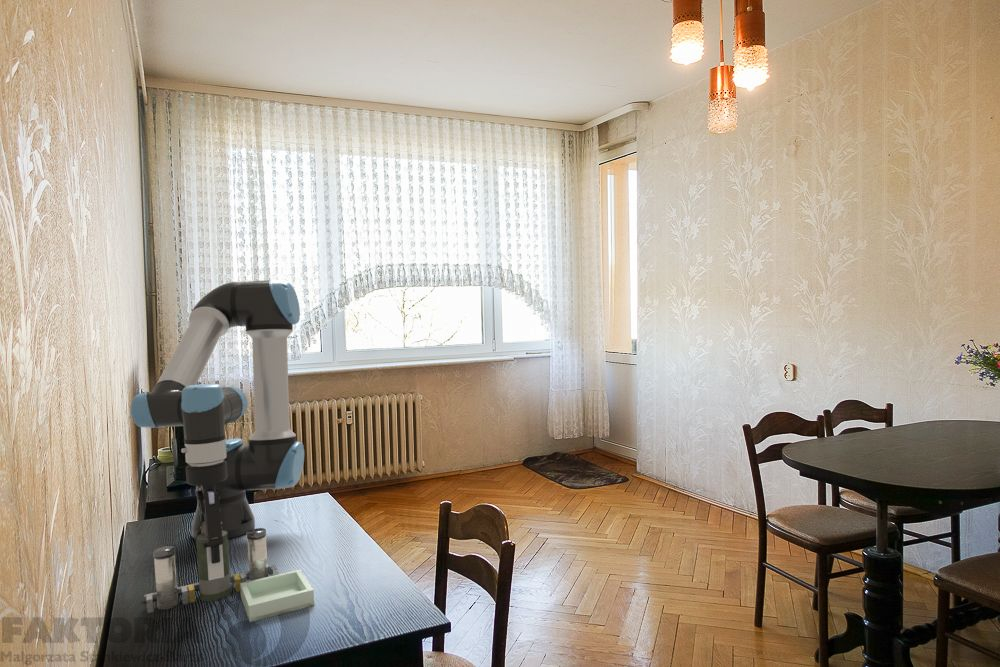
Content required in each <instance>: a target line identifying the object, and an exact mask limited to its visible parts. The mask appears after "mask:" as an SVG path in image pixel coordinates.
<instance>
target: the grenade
mask: <svg viewBox="0 0 1000 667" xmlns="http://www.w3.org/2000/svg"><path fill="white" fill-rule="evenodd" d="M221 525H222V522H221ZM221 529H223V527H222V526H221ZM227 534H228V532H227V531H226V530H222V538H223V544H222V549H223V566H224V577H223V578H218V579H214V580H209V579H208V563H207V548H204V547H203V544H204V543H207V535H206V526H205V521H204V522H202V526H201V529H200V530H199V531H198V532H197V536H196V537H195V539H194V540H195V543H196V554H197V557H196V558H197V565H198V566H197V568H198V569H197V570H198V571H197V572H198V580H199V581H198V583H199V586H200V589H199V599H200V600H201V601H203V602H211V601H218V600H221V599H223V598H227V597H228V596H229V595H231V593H232V591H233V590H232V587H231V582H230V575H231V574H230V559H229V558H230V557H229V543H228V539H227ZM216 538H218V537H216ZM216 538H212V539H216Z"/></svg>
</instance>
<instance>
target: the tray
mask: <svg viewBox="0 0 1000 667" xmlns="http://www.w3.org/2000/svg"><path fill="white" fill-rule="evenodd" d="M240 590H241V591H240V600H241V601H242V605H243V608H244V610H245V612H246V616H247V618H248V620H249V623H251V622H255V621H260V620H263V619H267V618H271V617H275V616H278V615H279V616H280V615H282V614H286V613H291V612H295V611H297V610H302V609H305V608H309V607H312V606H313V607H314V606H315V596H314V595H315V594H314V588H313V587H312V585H311V584H310V582H309V581H308V579H307V578H306V577H305V575H304V573H303V571H302V570H301V569H300V568H299V569H296V570H291V571H287V572H282V573H278V575H274V576H271V575H270V576H269V575H268V577H265V578H261V579H257V580H252V581H250V580H249V581H248V580H247V582H244V583H240Z"/></svg>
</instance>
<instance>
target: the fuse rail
mask: <svg viewBox="0 0 1000 667" xmlns="http://www.w3.org/2000/svg"><path fill="white" fill-rule="evenodd" d="M245 534H246V539H247V542H246V543H247V554H248V571H244V572H243V571H242V572H239V573H235V574H230V583H231V582H233V587H234V590H235V592H236V593H237V592H241V590H240V583H244V582H248V577H249V581H252V580H257V579H261V578H265V577H269V574H270V576H274V575H278V574H279V569H278V568H277V566H276V564H275V565H274V564H273V565H270V566H269V565H268V562H269V561H268V551H267V550H268V549H267V529H266V528H263V527H260V528H259V527H258V528H257V527H256V528H253V529H252V530H249V531H248V532H247V533H245ZM152 557H153V561H154V562H153V564H154V574H155V575H154V577H155V589H156V590H155V591H156V592H151V593H146V594H144V595H143V598H144V600H143V601H144V603H145V602H146V612H147V614H150V613H154V600H156V606H157V609H158V610H164V611H165V610H169V609H172V608H175V607H177V606H178V605H179V594H181V601H182V605H188V604H192V603H195V602H196V593H195V592H196V590H198V591H199V590H200V586H199V582H195V583H192V584H191V583H190V584H186V585H183V586H178V580H177V579H178V578H177V568H176V563H177V562H176V547H175V546H173V545H172V546H171V545H170V546H168V545H167V546H162V547H159V548H158V547H157V548H156V549H154V550H153V551H152Z"/></svg>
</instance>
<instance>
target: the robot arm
mask: <svg viewBox="0 0 1000 667" xmlns="http://www.w3.org/2000/svg"><path fill="white" fill-rule="evenodd" d="M300 316H301V310H300V304H299V299H298V295H297V292H296V290H295V288H294V287H293V285H292V284H291V283H290V282H289V281H287V280H281V279H280V280H275V279H270V280H268V279H267V280H253V281H251V280H250V281H232V282H227V283H223V284H222V285H219V286H217V287H216V288H214V289H212V290H210V291H209V292H207V294H205V295H204V296H203V297H202V298H200V300H199V301H198V302H197V303H196V304H195V305H194V307H193V309H192V310H191V312H190V314H189V316H188V322H189V325H188V327H187V328H186V330H185V332H184V334H183V336H182V337H181V339H180V341H179V343H178V344H177V346H176V348H175V350H174V352H173V353H172V355H171V357H170V359H169V360H168V363H167V364H166V366H165V368H164V369H163V371H162V374H161V375H160V377H159V378H158V380H157V382H156V384H155V386H154V387H153V388H152V391H151V392H150V391H146V392H140V393H138V394H135V395H134V397H133V398H132V400H131V404H130V416H131V419H132V420H133V423H134V424H135V425H136V426H137V427H139V428H148V429H149V428H150V429H151V428H156V429H159V428H171V427H183V443H184V447H183V448H181V451H180V452H181V453H182V454H185V455H184V456H185V463H187V465H186V466H185V476H186V477H185V478H186V484H187V485H190V486H195V488H196V489H195V490H196V502H197V504H196V505H197V506H196V510H195V513H194V516H193V520H192V524H191V530H190V531H191V538H192V539H193V540H196V539H195V537H196V536H197V532H198V531H199V530H200V529H201V526H202V522H204V521H205V526H206V535H207V543H204V544H203V547H204V548H207V563H208V579H209V580H214V579H218V578H223V577H224V566H223V549H222V544H223V538H222V530H226V531H227V532H228V534H227V540H228V539H233V538H236V537H237V538H238V537H240V536H243V535H244V534H246V533H247V532H248V531H249V530H252V529H255V527H256V522H255V516H254V513H253V511H252V508H251V507H250V504H249V501H248V498H247V495H246V493H247V492H246V491H257V490H281V489H287V488H288V489H289V488H293V487H294V486H296V485H297V484H298V482H299V481H300V478H301V476H302V474H303V473H302V472H303V468H304V462H305V449H304V447H305V446H304V444H303V443H302V442H300V441H297V434H296V433H295V432H293V430H292V429H291V426H290V425H291V424H290V401H289V400H290V399H289V398H290V397H289V396H290V395H289V394H290V393H289V366H288V365H289V363H288V359H289V358H288V357H289V356H288V337H289V336H290V335H291V334H292V333H293V332H294V328H293V325H296V324H298V323H299V321H300ZM234 327H245V333H246V334H247V335H248V336H249V337H250V338H251V340H252V341H251V342H252V368H253V369H252V370H253V373H252V374H253V378H252V379H253V408H254V409H253V410H254V431H253V433H252V434H251V435H250V436H249V437H248V444H244V441H243V440H242V438H228V439H226V425H227V424H230V423H234V422H236V421H237V420H239V419H240V418H241V417H243V416H244V414H245V413H246V411H247V409H248V402H249V401H248V398H247V396H246V394H245V393H244V392H243V391H242V390H241V388H238V387H233V386H228V387H226V386H225V387H222V385H221V384H219V383H202V384H201V383H200V384H198V382H199V380H200V378H201V377H202V374H203V372H204V370H205V368H206V366H207V363H208V362H209V360H210V358H211V356H212V354H213V352H214V350H215V348H216V345H217V344H218V342H219V340H220V338H221V337H223V336H224V335H226V334H227V333H228V331H229V329H230V328H231V329H232V328H234ZM221 522H222V525H221ZM221 526H222V527H223V529H221ZM216 537H218V538H216ZM212 538H216V539H212Z"/></svg>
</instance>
